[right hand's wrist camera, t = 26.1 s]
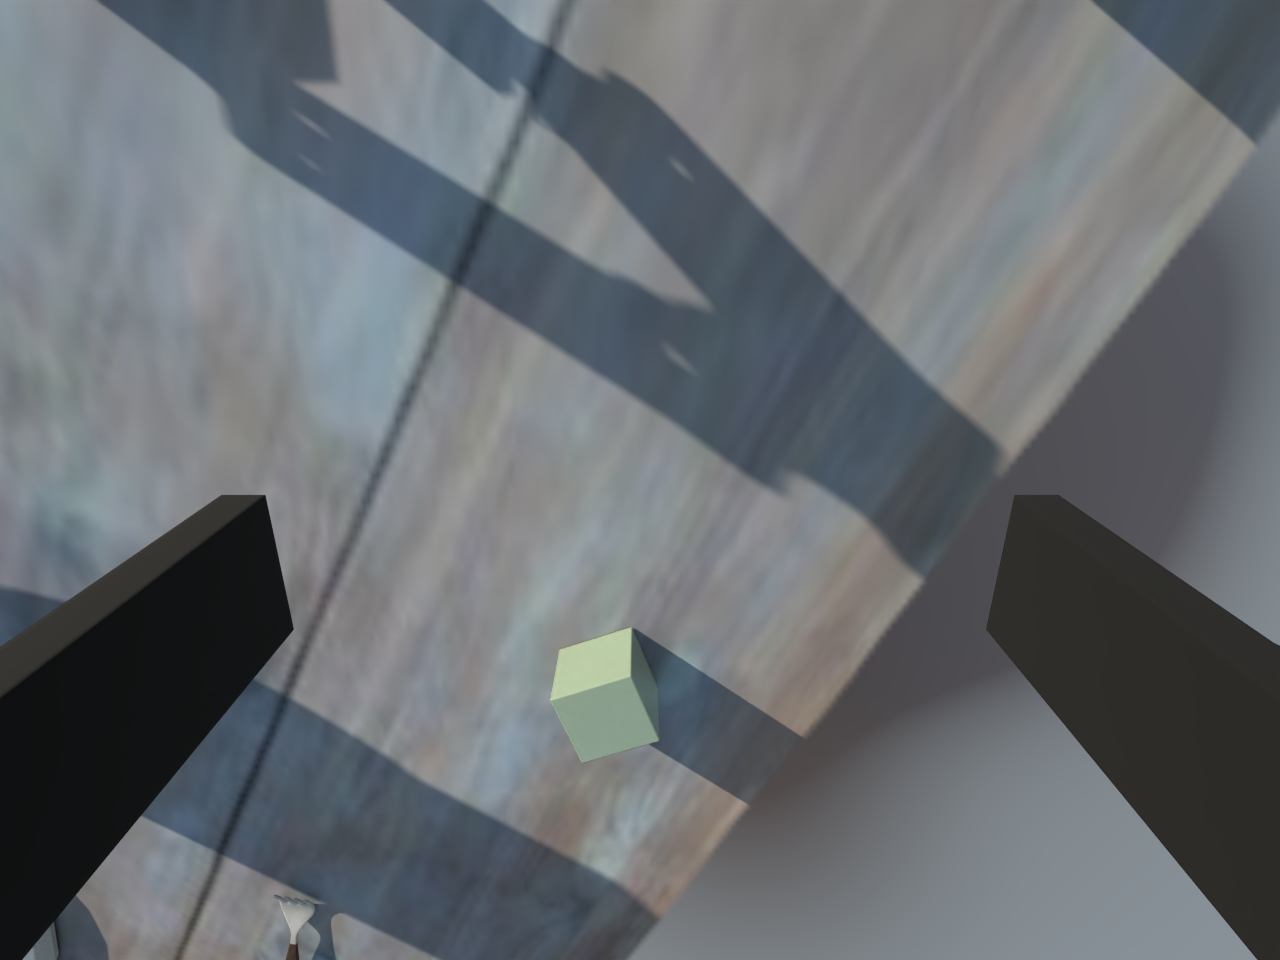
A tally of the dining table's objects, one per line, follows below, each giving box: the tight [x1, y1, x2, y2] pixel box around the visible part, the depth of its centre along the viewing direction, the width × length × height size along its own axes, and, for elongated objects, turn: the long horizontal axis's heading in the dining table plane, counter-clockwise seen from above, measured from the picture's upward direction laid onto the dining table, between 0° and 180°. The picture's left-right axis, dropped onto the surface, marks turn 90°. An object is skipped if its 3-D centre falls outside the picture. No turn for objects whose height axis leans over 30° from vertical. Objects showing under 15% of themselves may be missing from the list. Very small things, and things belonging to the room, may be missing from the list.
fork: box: [273, 895, 315, 960], centre depth 54 cm, size 3×16×2 cm, turn 167°
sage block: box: [551, 627, 660, 763], centre depth 43 cm, size 5×5×5 cm
